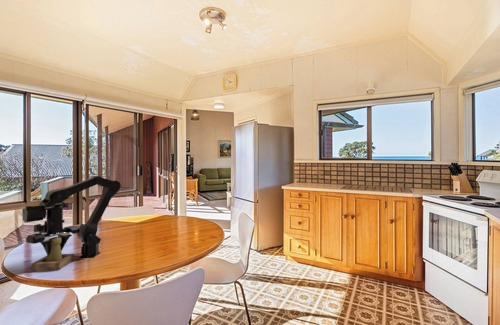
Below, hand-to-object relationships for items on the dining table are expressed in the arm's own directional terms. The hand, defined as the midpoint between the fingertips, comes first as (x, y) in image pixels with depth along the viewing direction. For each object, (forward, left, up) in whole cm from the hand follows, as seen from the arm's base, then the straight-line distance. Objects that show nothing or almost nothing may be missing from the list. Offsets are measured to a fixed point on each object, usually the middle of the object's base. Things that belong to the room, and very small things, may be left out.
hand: (54, 253), depth 110 cm
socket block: (0, 0, -5) cm, 5 cm away
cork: (0, 0, -4) cm, 4 cm away
